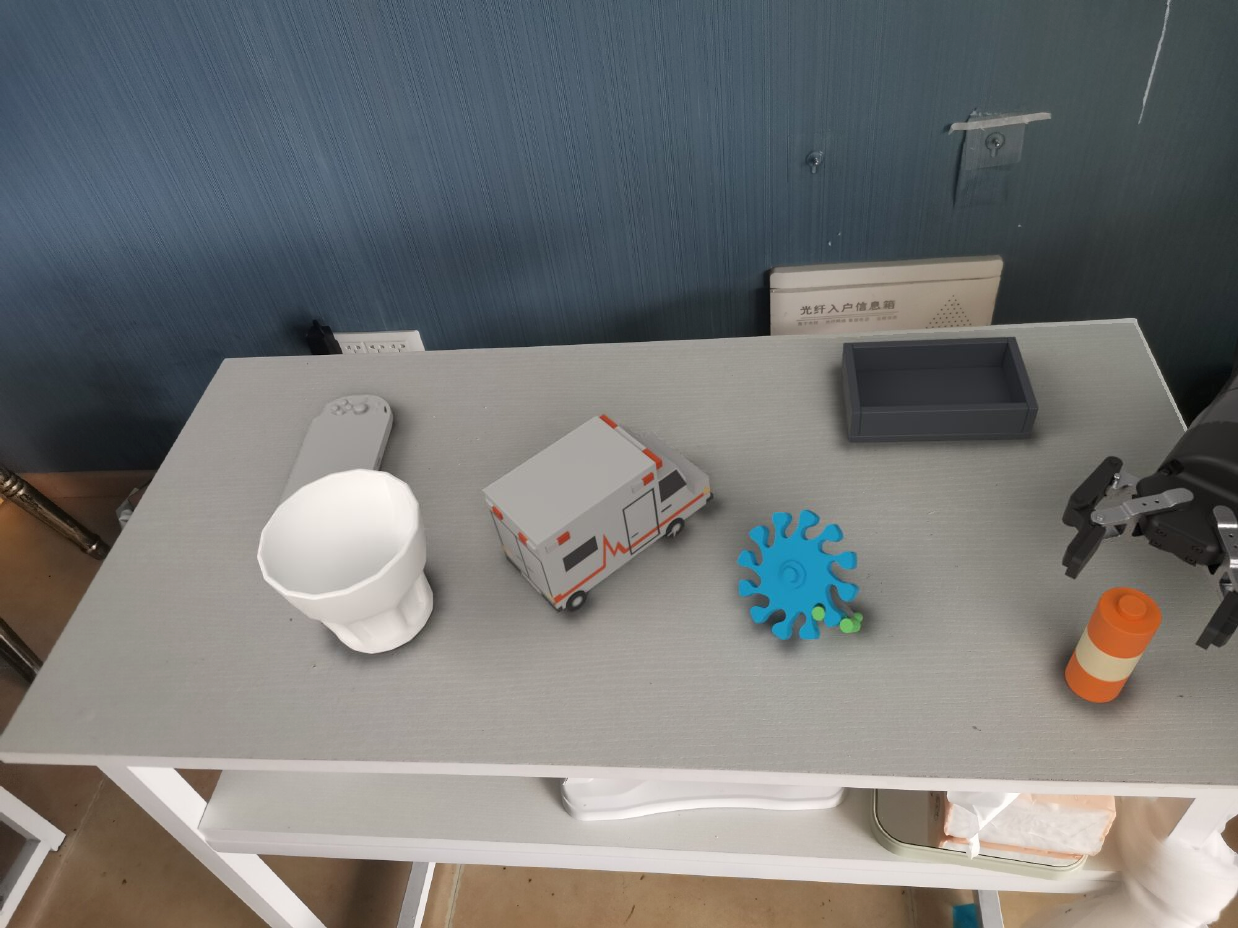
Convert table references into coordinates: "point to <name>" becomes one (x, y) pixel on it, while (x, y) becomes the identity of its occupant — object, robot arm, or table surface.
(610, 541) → the toy vehicle
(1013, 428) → the bin
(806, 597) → the gear
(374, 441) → the game console
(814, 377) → the table surface
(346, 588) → the cup
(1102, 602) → the orange cylinder
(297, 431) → the table surface
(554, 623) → the table surface
